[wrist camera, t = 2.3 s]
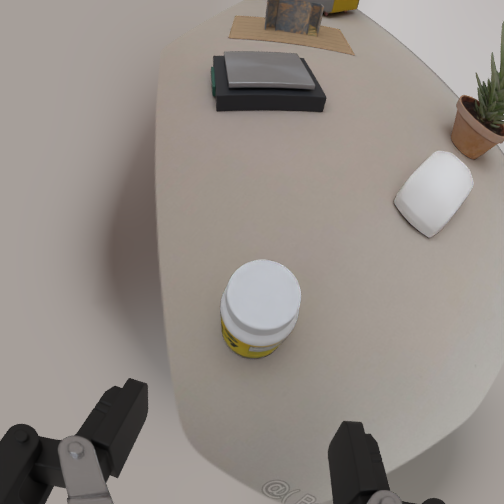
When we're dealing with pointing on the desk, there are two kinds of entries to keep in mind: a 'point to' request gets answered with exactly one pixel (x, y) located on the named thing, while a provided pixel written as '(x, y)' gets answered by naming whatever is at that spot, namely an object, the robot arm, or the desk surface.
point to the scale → (263, 94)
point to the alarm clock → (336, 5)
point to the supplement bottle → (259, 308)
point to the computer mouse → (434, 192)
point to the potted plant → (481, 114)
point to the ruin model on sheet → (291, 26)
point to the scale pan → (266, 70)
